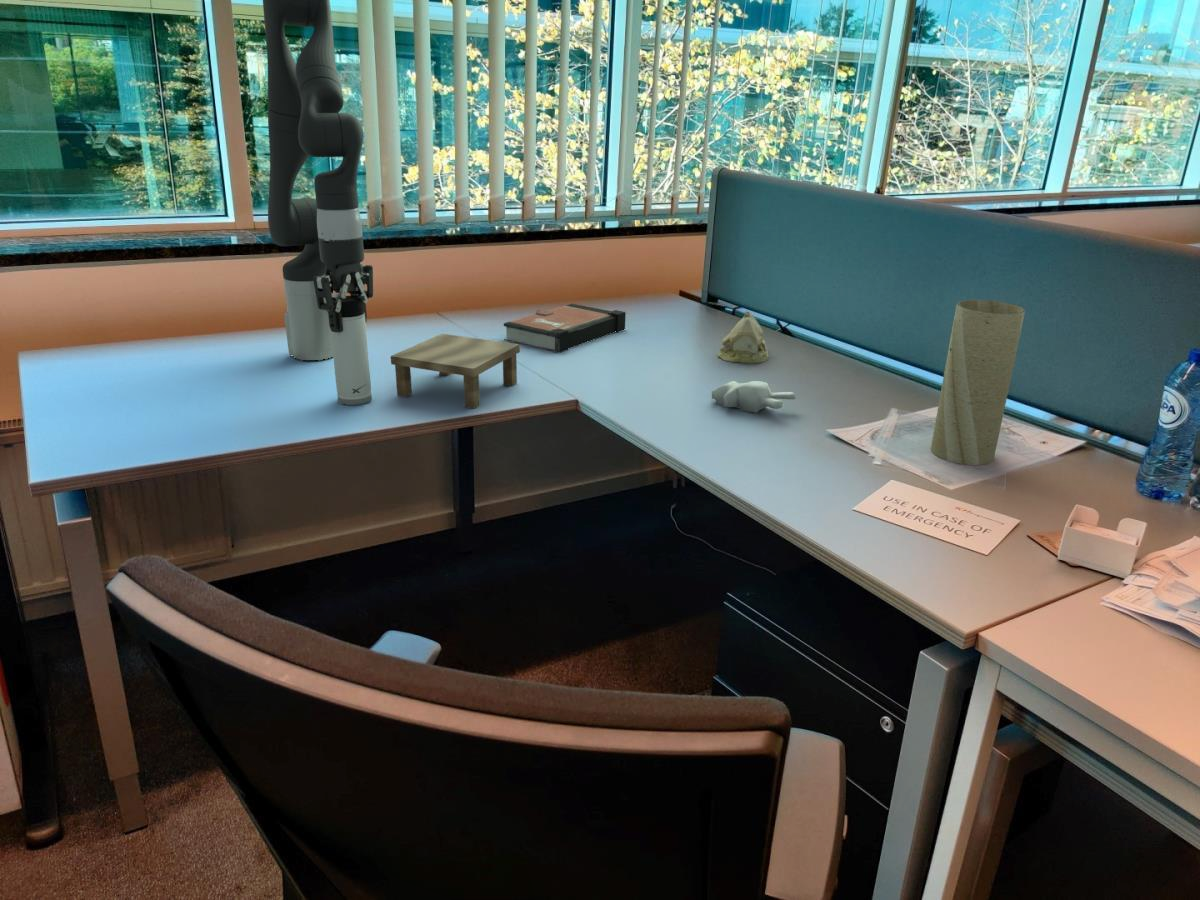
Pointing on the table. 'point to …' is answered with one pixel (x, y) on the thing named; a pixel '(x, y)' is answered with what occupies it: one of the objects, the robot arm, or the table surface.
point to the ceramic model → (744, 342)
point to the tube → (976, 380)
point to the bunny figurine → (749, 396)
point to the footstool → (456, 362)
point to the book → (564, 327)
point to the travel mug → (352, 354)
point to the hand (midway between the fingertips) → (349, 327)
